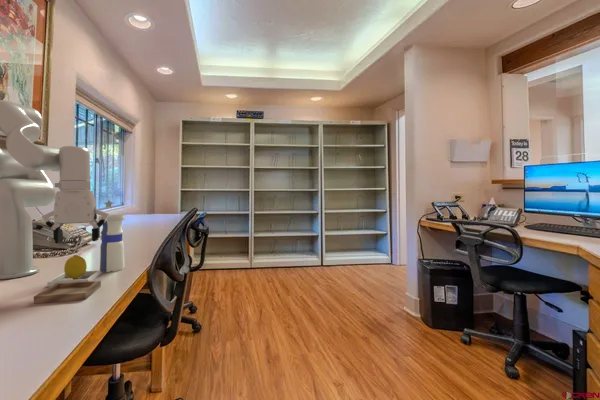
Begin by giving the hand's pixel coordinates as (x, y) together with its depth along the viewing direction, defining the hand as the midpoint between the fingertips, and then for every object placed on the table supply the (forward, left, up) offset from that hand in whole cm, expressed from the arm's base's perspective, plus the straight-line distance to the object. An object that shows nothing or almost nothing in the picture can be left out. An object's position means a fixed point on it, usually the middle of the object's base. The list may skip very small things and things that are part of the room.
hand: (77, 241), depth 91 cm
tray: (+3, -14, -12) cm, 19 cm away
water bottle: (+6, +12, -13) cm, 18 cm away
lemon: (-1, 0, -13) cm, 12 cm away
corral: (-1, 0, -12) cm, 12 cm away
